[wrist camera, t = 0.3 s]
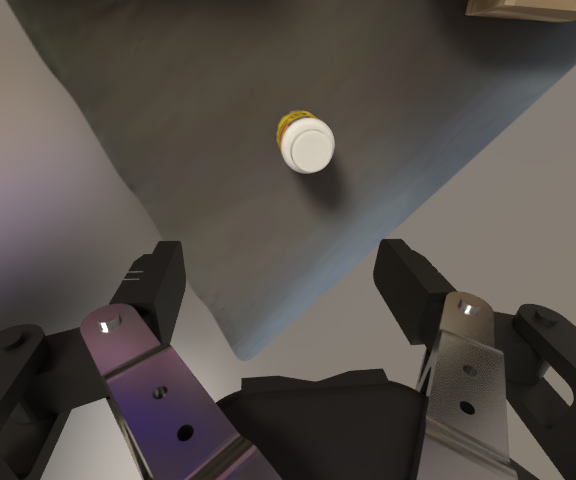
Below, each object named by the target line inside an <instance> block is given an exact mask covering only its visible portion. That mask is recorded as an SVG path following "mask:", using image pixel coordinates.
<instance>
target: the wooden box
mask: <svg viewBox="0 0 576 480" xmlns="http://www.w3.org/2000/svg"><path fill="white" fill-rule="evenodd" d="M465 15H468V16H481V17H494V18H507V19H519V20H532V21H545V22H558V23H561V22H568V21H574V20H576V0H469V1H468V4H467V8H466V12H465Z"/></svg>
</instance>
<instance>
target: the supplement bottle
mask: <svg viewBox="0 0 576 480" xmlns="http://www.w3.org/2000/svg"><path fill="white" fill-rule="evenodd" d="M276 139H277V143H278V145H279V148H280V151H281V153H282V156H283V158H284V160H285V162H286V163H287V165H288V166H289V167H290V168H292V169H293V170H295V171H297V172H300V173H314V172H317V171H320V170H321V169H323V168H324V167H325V166H326V165H327V164H328V163H329V161H330V160H331V158H332V155H333V153H334V148H335V142H334V136H333V134H332V132H331V130H330V128H329V127H328V126H327V125H326V124H325V123H324V122H322V121H321V120H320V119H318V118H317V117H315V116H314V115H312V114H311V113H309V112H307V111H303V110H295V111H292V112H289V113H288V114H286V115H285V116H284V117H283V118H282V119H281V120H280V122H279V124H278V126H277V130H276Z"/></svg>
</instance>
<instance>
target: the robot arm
mask: <svg viewBox="0 0 576 480" xmlns="http://www.w3.org/2000/svg"><path fill="white" fill-rule="evenodd" d="M373 278H374V283H375V285H376V287H377V289H378V290H379V292H380V294H381V295H382V297H383V299H384V301H385V302H386V304H387V306H388V307H389V309H390V311H391V312H392V314H393V316H394V317H395V319H396V321H397V322H398V324H399V326H400V327H401V329H402V331H403V332H404V334H405V336H406V337H407V339H408V341H409V342H410V344H411V345H421V344H425V346H426V347H427V348H426V350H425V353H424V356H423V360H422V364H421V368H420V373H419V377H418V381H417V385H416V389H415V390H414V389H412V388H410V387H408V386H405V385H403V384H400V383H397V382H393V381H389V380H388V379H387V377H386V374H385V372H384V370H383V369H370V370H355V371H348V372H345V373H342V374H339V375H336V376H333V377H330V378H327V379H324V380H321V381H316V382H313V381H307V380H301V379H295V378H289V377H283V376H267V377H253V378H242V385H241V388H242V389H241V390H240V391H237V392H234V393H232V394H230V395H228V396H226V397H224V398H222V399H221V400H219V401H218V402H216V403H215V402H214V400H213V399H212V398H211V397H210V396H209V394H208V393H207V391H206V390H205V389H204V388H203V386H202V385H201V384H200V382H199V381H198V380H197V378H196V377H195V376H194V375H193V374H192V372H191V371H190V369H189V368H188V367H187V365H186V364H185V363H184V362H183V360H182V359H181V358H180V356H179V355H178V354H177V352H176V351H175V350H174V349H173V347H172V346H171V345H170V341H171V338H172V334H173V331H174V327H175V324H176V320H177V317H178V313H179V309H180V306H181V302H182V299H183V295H184V292H185V286H186V274H185V267H184V259H183V252H182V245H181V242H180V241H159V242H158V244H157V246H156V248H155V249H154V251H153V253H152V254H144V255H143V256H141V257H140V258H138V259H137V260H136V261H134V262H133V264H132V266H131V268H130V269H129V272H128V273H127V274H126V276H125V278H124V280H123V281H122V283H121V285H120V286H119V288H118V290H117V291H116V293H115V295H114V296H113V298H112V300H111V301H110V303H109V305H106V306H103V307H101V308H98V309H96V310H95V311H93V312H91V313H90V314H89V315H87V316H86V317H85V318H84V320H83V321H82V323H81V325H80V327H78V328H75V329H72V330H67V331H64V332H59V333H56V334H52V335H48V336H45V334H44V331H43V329H42V328H41V327H40V326H38V325H34V324H22V325H17V326H13V327H9V328H6V329H4V330H1V331H0V480H40V479H41V476H42V474H43V472H44V470H45V468H46V465H47V463H48V461H49V459H50V456H51V454H52V452H53V450H54V448H55V445H56V443H57V441H58V439H59V437H60V434H61V432H62V430H63V428H64V425H65V423H66V421H67V419H68V417H69V414H70V412H71V410H72V409H73V408H76V407H79V406H82V405H85V404H88V403H91V402H94V401H97V400H100V399H102V398H106V400H107V402H108V404H109V406H110V408H111V411H112V413H113V415H114V417H115V419H116V422H117V424H118V426H119V428H120V430H121V432H122V434H123V437H124V439H125V441H126V443H127V445H128V447H129V450H130V452H131V455H132V457H133V459H134V462H135V464H136V467H137V469H138V471H139V473H140V475H141V478H142V480H539V479H538V478H537V477H535V476H534V475H533V474H531V473H530V472H528V471H527V470H525V469H524V468H523V467H522V466H520V465H519V464H518V463H516V462H515V461H513V460H512V459H511V458H509V444H508V426H507V425H508V424H507V405H506V399H507V400H508V402H509V403H510V405H511V406H512V407H513V408H514V410H515V411H516V413H517V414H518V415H519V417H520V418H521V420H522V421H523V422H524V424H525V425H526V427H527V428H528V429H529V431H530V432H531V433H532V435H533V436H534V438H535V439H536V440H537V442H538V443H539V444H540V446H541V447H542V449H543V450H544V451H545V453H546V454H547V455H548V457H549V458H550V460H551V461H552V462H553V464H554V465H555V467H556V468H557V469H558V471H559V472H560V474H561V475H562V476H563V478H564V479H565V480H576V326H574V325H573V324H572V323H571V322H570V321H568V320H567V319H566V318H564V317H563V316H562V315H560V314H559V313H557V312H555V311H553V310H551V309H548V308H546V307H543V306H540V305H535V304H524V305H521V306H520V308H519V309H518V311H517V313H516V315H510V314H504V313H499V312H494V311H493V309H492V308H491V306H490V305H489V304H488V303H487V302H485V301H484V300H482V299H481V298H479V297H477V296H475V295H472V294H469V293H466V292H458V291H457V290H456V289H455V288H454V287H453V286H452V285H451V284H450V283H449V282H448V281H447V280H446V279H445V278H444V277H443V276H442V275H441V274H440V273H438V270H437V269H436V268H435V267H434V266H432V264H431V263H430V262H429V261H428V260H427V259H426V258H425V257H424V256H422V255H420V254H419V253H417V252H416V251H414V250H411V249H410V247H409V246H408V245H407V244H406V243H405V242H404V241H403V240H402V239H383V240H381V242H380V245H379V249H378V253H377V258H376V263H375V267H374V271H373ZM550 366H551V367H552V368H554V369H555V371H556V372H557V373H558V374H559V375H560V376H561V377H562V378H563V379H564V380H565V381H566V382H567V383H568V385H569V386H570V387H571V389H572V392H573V395H574V401H573V403H572V405H571V406H569V405H567V403H566V402H565V401H564V400H563V399H562V398H561V397H560V395H559V394H558V393H557V392H556V391H555V390H554V389H553V388H552V386H551V385H550V384H549V383H548V382H547V381H546V380H545V379H544V377H543V375H544V374H545V372H546V371H547V370H548V368H549V367H550Z"/></svg>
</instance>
